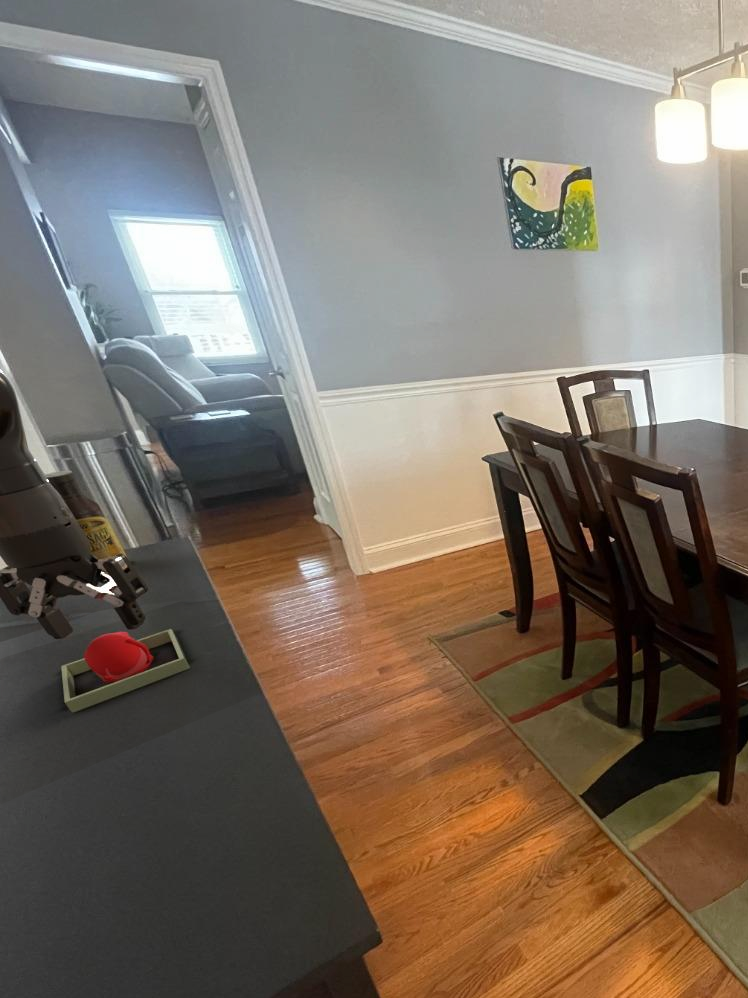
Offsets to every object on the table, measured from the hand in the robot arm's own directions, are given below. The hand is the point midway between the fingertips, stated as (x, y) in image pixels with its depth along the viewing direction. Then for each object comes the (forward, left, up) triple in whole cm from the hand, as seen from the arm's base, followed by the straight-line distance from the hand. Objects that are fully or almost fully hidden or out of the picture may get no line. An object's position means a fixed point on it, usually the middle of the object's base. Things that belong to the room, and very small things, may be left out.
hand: (101, 631), depth 81 cm
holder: (0, 0, -7) cm, 7 cm away
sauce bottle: (-26, +38, -7) cm, 47 cm away
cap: (0, 0, -7) cm, 7 cm away
